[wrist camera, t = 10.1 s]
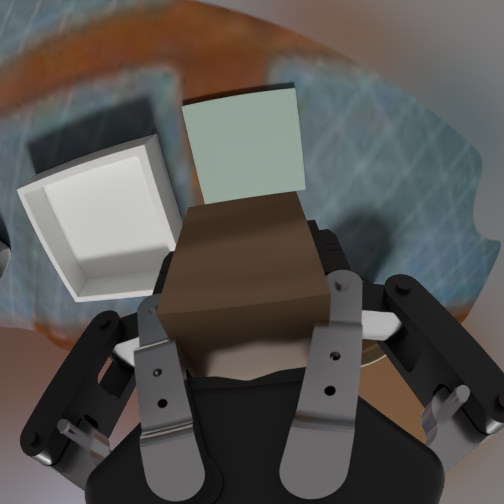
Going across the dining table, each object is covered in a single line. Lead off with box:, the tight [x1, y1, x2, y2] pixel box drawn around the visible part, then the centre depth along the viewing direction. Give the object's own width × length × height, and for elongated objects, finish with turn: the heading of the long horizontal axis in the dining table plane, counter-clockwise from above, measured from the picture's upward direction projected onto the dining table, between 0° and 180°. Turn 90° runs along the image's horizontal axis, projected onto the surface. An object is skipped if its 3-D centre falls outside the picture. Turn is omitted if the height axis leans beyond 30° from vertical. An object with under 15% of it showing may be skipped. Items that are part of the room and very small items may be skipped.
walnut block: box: [156, 191, 331, 381], centre depth 11 cm, size 4×4×6 cm
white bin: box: [17, 134, 183, 302], centre depth 29 cm, size 16×16×4 cm
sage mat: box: [182, 88, 306, 204], centre depth 26 cm, size 10×10×1 cm
